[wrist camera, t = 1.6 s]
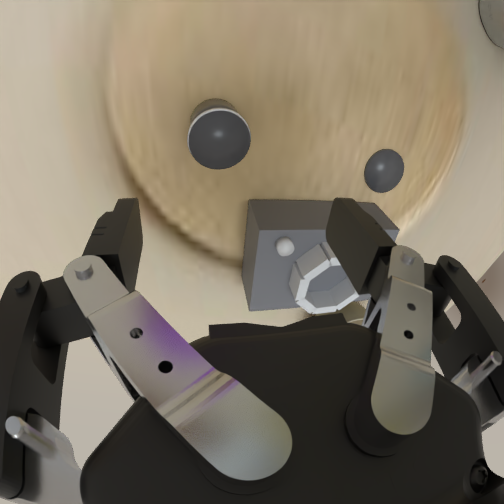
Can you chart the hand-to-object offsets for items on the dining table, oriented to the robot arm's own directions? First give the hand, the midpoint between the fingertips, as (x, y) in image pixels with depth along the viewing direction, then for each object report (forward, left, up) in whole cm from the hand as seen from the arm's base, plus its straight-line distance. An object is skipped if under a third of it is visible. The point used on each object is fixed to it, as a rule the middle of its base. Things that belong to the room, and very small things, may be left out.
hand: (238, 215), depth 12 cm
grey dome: (-20, +4, -18) cm, 27 cm away
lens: (0, 0, -18) cm, 18 cm away
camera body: (-12, +14, -18) cm, 26 cm away
